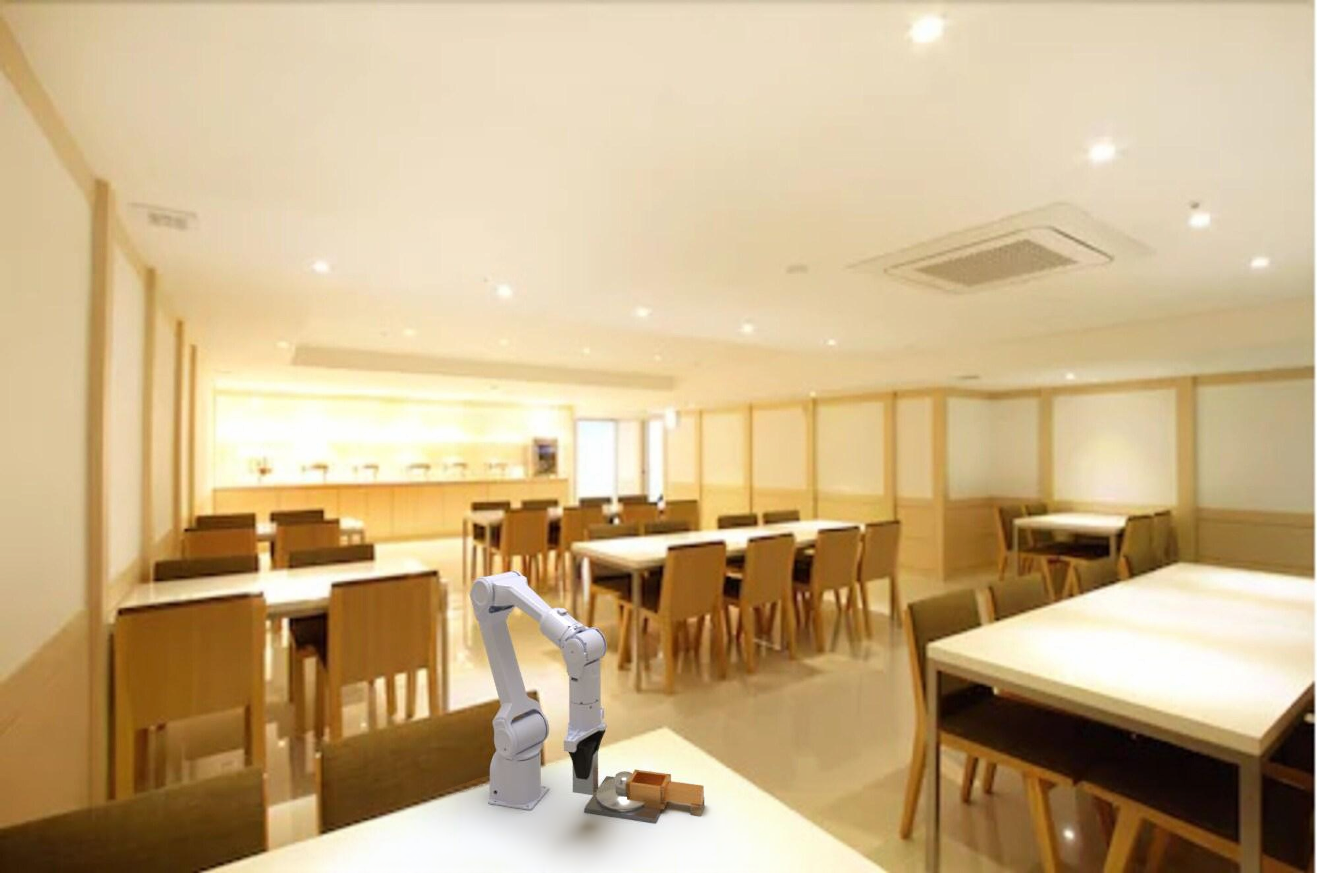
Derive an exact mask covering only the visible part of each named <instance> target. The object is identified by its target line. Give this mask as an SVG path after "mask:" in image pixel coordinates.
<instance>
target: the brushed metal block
mask: <svg viewBox="0 0 1317 873" xmlns="http://www.w3.org/2000/svg"><path fill="white" fill-rule="evenodd" d="M598 787H599V750H598V749H593V753H592V757H591V764H590V773H589V777H588V779H587V780H585V779H578V778H576V774H575V770H574V766H573V765H572V793H575V794H580V795H589V796H593V795H594V794H595V792H596V791H597V789H598Z"/></svg>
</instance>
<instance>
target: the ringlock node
mask: <svg viewBox="0 0 1317 873" xmlns="http://www.w3.org/2000/svg"><path fill="white" fill-rule="evenodd" d="M704 788H705V786H704V785H702V784H694V783H688V782H687V783H686V782H679V781H673V780H672V774H671V773H664V772H655V771H650V770H649V771H648V770H641V769H634V770H633V772H631V771H628V770H627V771H626V770H625V771H619V772H618V773H616V774H615V776H609V775H606V776H605V777H604V778H603V781H602V782H601V783H600V785H598V789H597V791H596V792H595V794H594V795H591V798H590V799H589V801H588V802H587V803H586V805H585V806H584V808H583V809H584V810H583V812H584V813H587V814H593V815H598V816H599V815H600V816H605V817H606V816H607V817H612V818H619V819H627V820H630V821H631V820H632V821H638V822H644V823H645V822H646V823H652V824H656V823H657V821H658V820H659V817H660V815H661V813H662V811H663V810H665V808H666V805H667V804H668V802H670V803H677V804H686V805H690V806H689V815H691V816H696V817H697V816H698V817H701V816H702V814H703V810H704V808H705V796H704V794H705V789H704Z"/></svg>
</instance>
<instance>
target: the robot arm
mask: <svg viewBox="0 0 1317 873" xmlns="http://www.w3.org/2000/svg"><path fill="white" fill-rule="evenodd" d="M527 578H528V577H526V576H524V575H523V574H522V573H521V572H520V571H518V570H517V569H515V570H511V571H507V572H503V573H502V572H501V573H498V574H497V573H496V574H491V575H488V576H479V577H477V578H476V579H475V580H474V582H473V584H472V586H471V589H470V591H469V597H470V601H471V606H472V608H473V612H474V615H475V620H476V621H477V622H478V626H479V630H480V633H481V634H480V635H481V638H482V642H483V645H484V649H485V653H486V655H487V659H488V662H489V668H490V670H491V674H492V678H493V681H494V686H495V689H496V693H497V696H498V699H499V700H498V701H499V704H500V707H499V710H498V711H497V713H496V715H495V717H494V718H493V720H492V722H491V723H492V727H493V732H494V734H493V735H494V736H493V743H494V746H495V752H494V753H493V755H492V759H491V760H490V761H491V762H490V765H489V799H488V801H487V805H488V804H489V805H494V806H499V807H507V808H513V809H519V810H525V811H526V810H527V811H532V810H533V809H534V808H535V807H536V805H537V804H538V803H539V802H540V801H541V800H542V798H543V797H544V796H545V795H546V793H547V792H548V791H550V790H549V789H550V787H549V786H547V785H542V783H541V781H542V778H541V777H542V776H541V775H542V769H541V768H542V764H541V750H542V749H543V748H544V742H545V741H546V740H547V739H548V737H549V734H550V724H549V721H548V719H547V717H546V715H545V713H544V711H543V710H542V708H541V705H540V704H541V703H540V702H539V701H537V700H535V699H533V698H532V697H529V696H528V694H527V691H526V686H525V684H524V683H525V682H524V680H523V676H522V673H521V669H520V665H519V663H518V659H517V655H516V652H515V648H514V645H513V641H512V638H511V635H510V634H511V633H510V630H509V626H508V624H507V621H508V620H507V619H508V617H509V615H510V614H511V613H512V612H513V611H514V609H515V608H518V609H519V610H520V611H522V612H523V613H524V614H526V615H528V617H530V618H532V619H533V620H535V621H536V622H537V623H539V630H540V634H542V635H543V636H544V637H546V638H547V639H548V640H549V641H551V642H552V643H553V645H555V646H557V648H559V650H561V654H562V655H561V656H562V658H563V661H564V662H565V663H564V664H565V665H566V673H567V676H568V686H569V687H568V690H569V691H568V693H569V694H568V696H569V698H568V700H569V701H568V704H569V706H568V708H569V711H568V712H569V713H568V716H569V717H568V718H569V721H568V723H567V730H566V736H565V738H563V752H567V753H568V755H569V757H570V759H571V762H572V767H573V766H574V770H575V774H576V778H578V779H585V780H587V779H588V777H589V773H590V764H591V757H592V753H593V749H598V751H599V749H600V745H601V742H602V740H603V738H604V735H605V733H606V729H607V728H608V723H607V722H605V721H603V720H604V719H605V707H602V706H601V703H602V702H601V701H602V699H601V692H602V691H601V690H602V689H601V688H602V687H601V674H602V673H601V659H602V658H604V657H605V655H606V653H607V650H608V644H607V639H606V636H605V635H604V633H603V632H602V631H601V630H600V628H598V627H588V626H586V625H585V626H584V624H582V623H581V622H579V621H577V619H575V618H574V617H573V616H572V615H570V614H569V613H568V610H567V609H565V608H564V607H553V608H552V607H551V606H550V605H548V603H547V602H545V600H544V599H542V597H540V596H539V595H538V594H537V593H536V592H535V591H534V590H533V589H532V588H531V587H530V586H529V583H528V582H529V581H528V579H527ZM521 715H522V716H521ZM518 716H519V717H518ZM516 717H518V718H516ZM514 718H515V719H514Z"/></svg>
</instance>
